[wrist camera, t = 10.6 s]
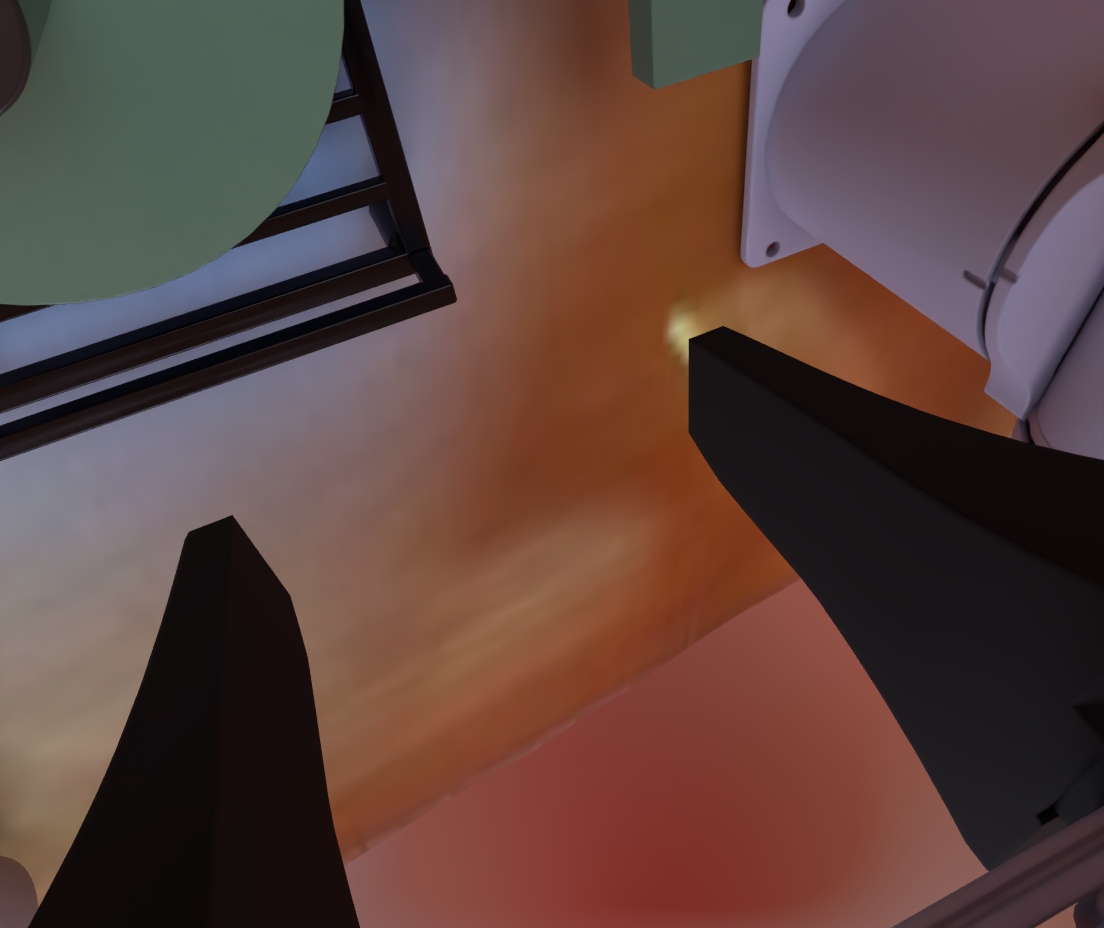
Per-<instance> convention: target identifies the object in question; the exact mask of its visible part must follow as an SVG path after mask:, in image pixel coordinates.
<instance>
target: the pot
mask: <svg viewBox="0 0 1104 928" xmlns="http://www.w3.org/2000/svg"><path fill="white" fill-rule="evenodd" d="M628 3H629V22H630V41H631V61H632V74H633V76H634V77H636V78H637V79H639V80H641V81H642V82H644V83H645V84H647V85H648V86H650V87H651V88H653V89H658V88H661V87H664V86H668V85H671V84H674V83H677V82H681V81H684V80H687V79H690V78H693V77H697V76H700V75H703V74H706V73H709V72H713V71H716V70H719V69H722V68H725V67H729V66H732V65H735V64H738V63H741V62H745V61H748V60H751V59H754V58H757V57H759V55H760V41H761V26H762V11H763V0H628Z"/></svg>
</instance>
